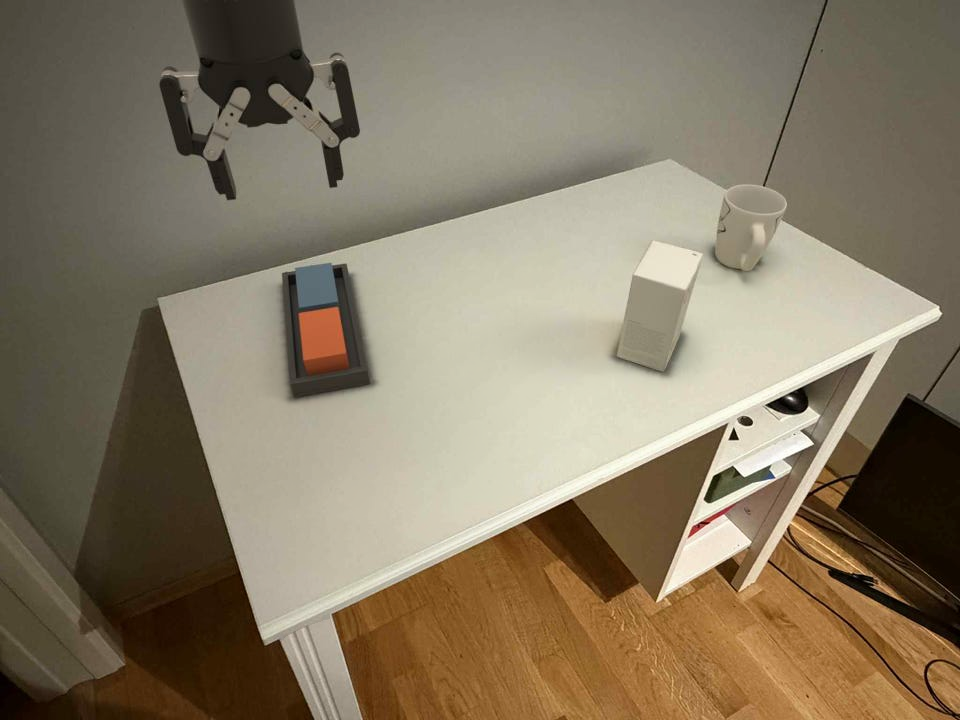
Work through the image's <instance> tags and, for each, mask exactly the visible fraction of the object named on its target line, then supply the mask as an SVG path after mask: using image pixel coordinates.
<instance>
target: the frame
mask: <svg viewBox="0 0 960 720" xmlns="http://www.w3.org/2000/svg"><path fill="white" fill-rule="evenodd" d="M332 268H333V273H334V278H335V283H336V289H337V295H338V301H339V307H340V312H341V318H342V322H341V323H342V329H343V334H344V340H345V346H346V352H347V357H348V363H349V369H346V370H340V371H335V372H329V373H323V374H318V375H312V376H307V373H306V369H305V365H304V361H303V352H302V342H301V332H300V322H299V313H300V310H299V304H298V294H297V284H296V274H295V270H292V271H285V272H281V280H282V293H283V294H282V296H283V307H284V308H283V309H284V321H285V322H284V323H285V332H286V333H285V335H286V349H287V350H286V351H287V363H288V364H287V365H288V377H289V379H288V380H289V386H290V389H291V392H292V395H293V398H294V399H295V398H301V397H305V396H311V395H316V394H317V395H318V394H322V393H328V392H333V391H337V390H344V389H348V388H355V387H361V386H366V385H370V384H371V381H370V380H371V379H370V373H369V367H368V363H367V358H366V353H365V349H364V343H363V339H362V338H363V337H362V334H361V327H360V323H359V318H358V313H357V308H356V304H355V303H356V302H355V298H354V293H353V288H352V283H351V279H350V273H349V268H348V264H347V262H346V263H339V264H332Z"/></svg>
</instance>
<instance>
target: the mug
mask: <svg viewBox="0 0 960 720" xmlns="http://www.w3.org/2000/svg"><path fill="white" fill-rule="evenodd" d="M787 205H788V204H787V200H786V198H785V197H784V196H783V195H782V194H781V193H779V192H778V191H776V190H774V189H772V188H770V187H766V186H763V185H759V184H758V185H757V184H747V183H746V184H745V183H744V184H736V185H734V186H731V187H729V188H728V189H727V190H726V191H725V192H724V195H723V198H722V203H721V207H720V212H719V216H718V221H717V227H716V239H715V248H714V255H715V257H716V260H717V261H718V262H720V264H722V265H724V266H726V267H728V268H732V269H736V270H742V271H744V272H750V271H752V270H753V269H754V268H755V266H756V265H757V264H758V263H759V261H760V259H761V258H762V256H763V255H764V254H765V252H766V250H767V248H768V246H769V245H770V243H771V241H772V239H773V238H774V236H775V234H776V232H777V230H778V227H779V226H780V223H781V221H782V219H783V217H784V214H785V212H786V210H787Z"/></svg>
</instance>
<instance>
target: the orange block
mask: <svg viewBox="0 0 960 720" xmlns="http://www.w3.org/2000/svg"><path fill="white" fill-rule="evenodd" d="M299 322H300V332H301V342H302V352H303V361H304V365H305V369H306V373H307V376H312V375H318V374H323V373H329V372H335V371H340V370H346V369H349V363H348V357H347V352H346V346H345V340H344V334H343V329H342V323H341V318H340V313H339V308H338V307H334V308H327V309H321V310H315V311H309V312H303V313H299Z"/></svg>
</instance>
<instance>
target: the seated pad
mask: <svg viewBox="0 0 960 720" xmlns="http://www.w3.org/2000/svg"><path fill="white" fill-rule="evenodd" d="M332 265H333V263H332V262H325V263H320V264H319V263H318V264H313V265H305V266H299V267H294V271H295V274H296V284H297V294H298V304H299V310H300V313H303V312H309V311H315V310H321V309H327V308H334V307H338V308H339V313H340V318H341V312H340V307H339V301H338V295H337V289H336V283H335V278H334V273H333V268H332ZM341 322H342V318H341Z"/></svg>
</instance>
